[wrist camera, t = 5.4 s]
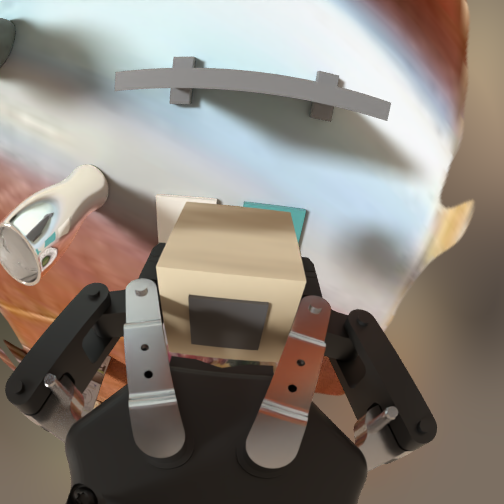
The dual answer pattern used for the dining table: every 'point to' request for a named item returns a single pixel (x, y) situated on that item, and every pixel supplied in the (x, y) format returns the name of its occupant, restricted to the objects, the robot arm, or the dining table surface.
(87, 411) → the coffee box
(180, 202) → the pad
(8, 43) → the bottle
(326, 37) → the dining table surface
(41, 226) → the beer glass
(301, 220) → the pad
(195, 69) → the screen
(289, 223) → the beige cube
